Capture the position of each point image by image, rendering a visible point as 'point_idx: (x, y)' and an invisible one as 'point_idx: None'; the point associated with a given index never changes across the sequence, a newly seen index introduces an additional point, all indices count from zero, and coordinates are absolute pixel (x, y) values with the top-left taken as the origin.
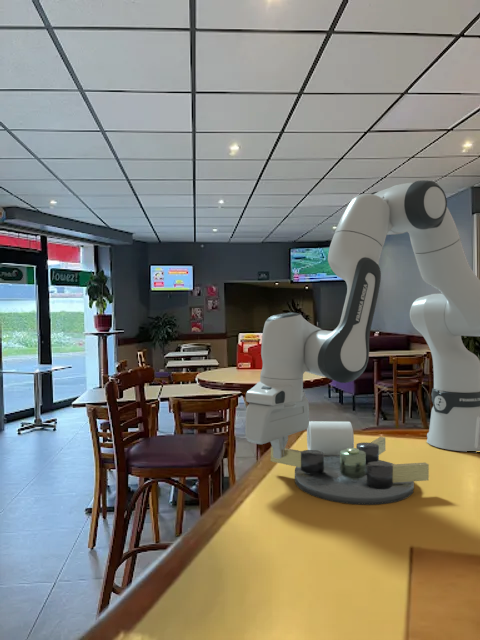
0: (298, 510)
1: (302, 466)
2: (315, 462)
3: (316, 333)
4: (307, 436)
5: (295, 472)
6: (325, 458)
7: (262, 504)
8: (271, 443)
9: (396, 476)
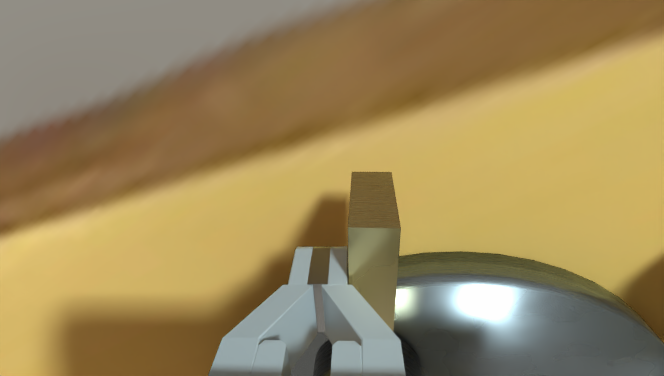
0: (122, 370)
1: (318, 367)
2: None
3: None
4: None
5: None
6: (610, 342)
7: (58, 289)
8: (239, 328)
9: None
